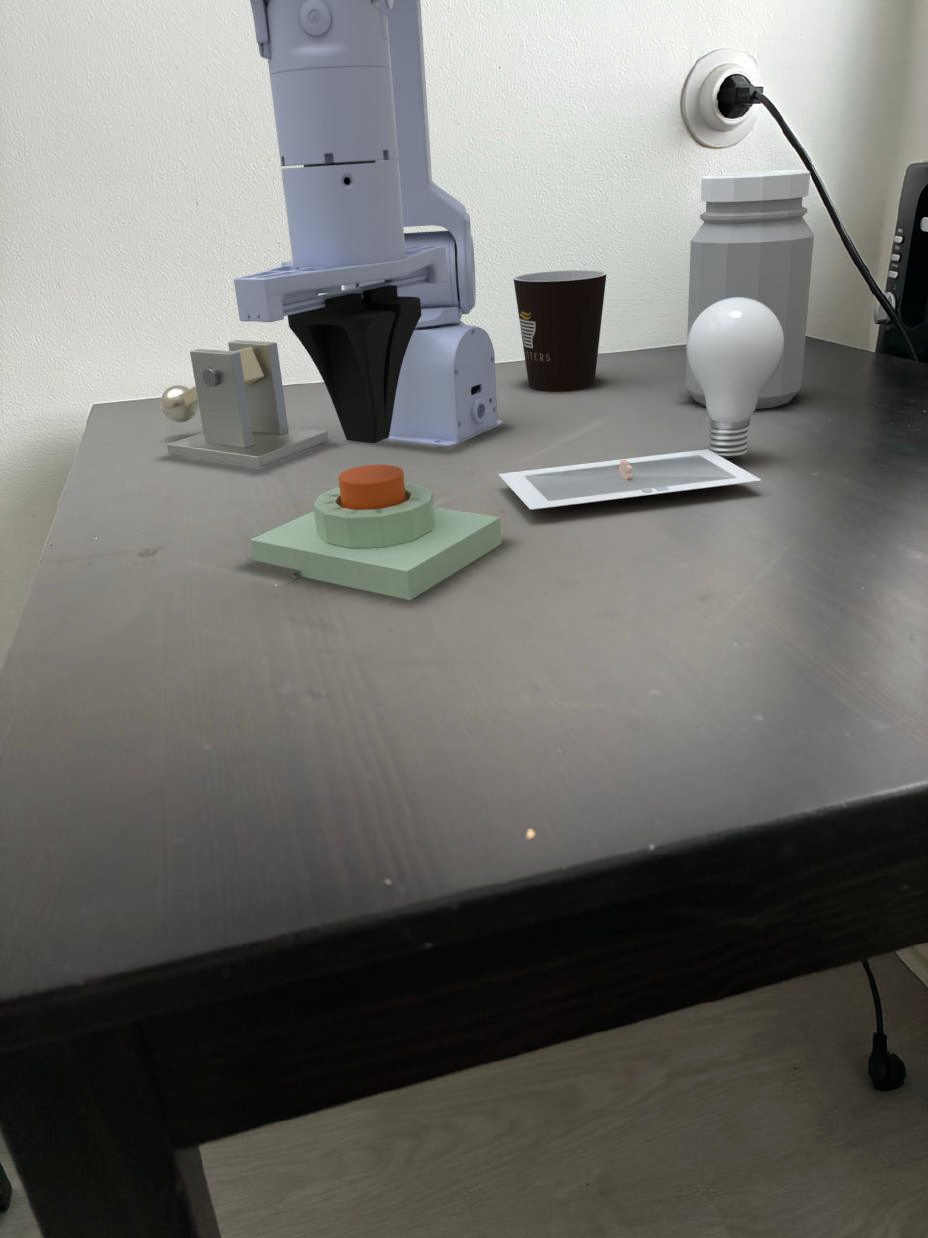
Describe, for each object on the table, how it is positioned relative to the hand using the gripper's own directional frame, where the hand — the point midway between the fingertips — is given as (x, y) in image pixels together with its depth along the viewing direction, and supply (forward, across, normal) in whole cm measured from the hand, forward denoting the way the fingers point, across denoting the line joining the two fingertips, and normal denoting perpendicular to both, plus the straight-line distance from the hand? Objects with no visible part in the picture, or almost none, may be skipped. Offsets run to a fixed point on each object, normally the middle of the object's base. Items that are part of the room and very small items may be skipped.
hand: (367, 438), depth 54 cm
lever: (+3, -14, -27) cm, 31 cm away
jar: (+7, -44, +6) cm, 45 cm away
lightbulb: (+7, -26, +12) cm, 29 cm away
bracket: (+7, -14, -24) cm, 29 cm away
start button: (+4, 0, 0) cm, 4 cm away
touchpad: (+7, -16, +8) cm, 19 cm away
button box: (+7, 0, 0) cm, 7 cm away
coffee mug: (+7, -46, -13) cm, 48 cm away
